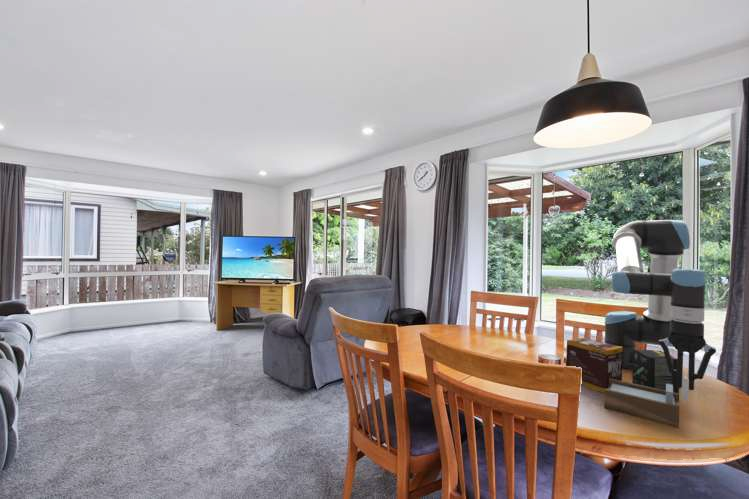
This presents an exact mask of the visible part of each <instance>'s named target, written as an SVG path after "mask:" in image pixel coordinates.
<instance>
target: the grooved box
mask: <svg viewBox="0 0 749 499" xmlns="http://www.w3.org/2000/svg"><path fill="white" fill-rule="evenodd" d="M612 383H614V384H618V385H622V386H627V387H631V388H636V389H640V390H645V391H649V392H654V393H658V394H663V395H666V390H661V389H656V388H652V387H647V386H643V385H638V384H633V383H632V382H627V381H623V380H622V381H620V380H615V379H609V387H608V389H606V388H605V393H603V394H604V398H603V399H604V400H603V409H606V410H610V411H613V412H614V411H615V412H617V413H621V414H624V415H629V416H632V417H636V418H640V419H644V420H648V421H651V422H655V423H659V424H663V425H666V426H668V427H669V426H670V427H672V428H673V427H674V428H678V429H679V428H680V405H679V402H678V393H675V392H673V397H674V404H670V403H665V402H661V401H657V400H652V399H648V398H644V397H640V396H635V395H631V394H627V393H623V392H618V391H614V390H610V388H611V386H612Z"/></svg>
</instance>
